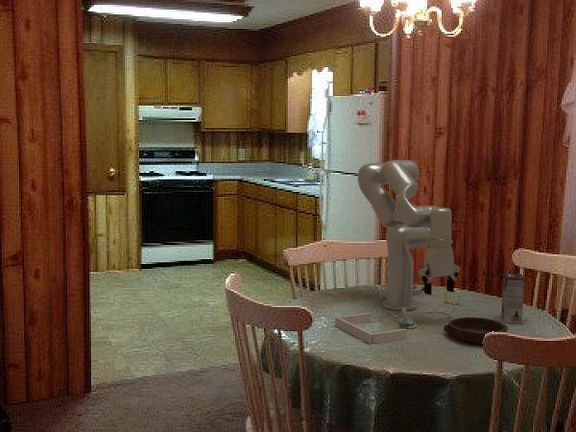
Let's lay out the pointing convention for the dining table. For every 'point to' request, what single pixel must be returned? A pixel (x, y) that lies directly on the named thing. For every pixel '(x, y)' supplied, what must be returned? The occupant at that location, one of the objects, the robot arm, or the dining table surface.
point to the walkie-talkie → (417, 290)
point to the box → (371, 338)
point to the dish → (473, 328)
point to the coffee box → (512, 298)
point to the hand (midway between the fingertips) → (439, 292)
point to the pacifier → (406, 320)
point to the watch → (452, 302)
